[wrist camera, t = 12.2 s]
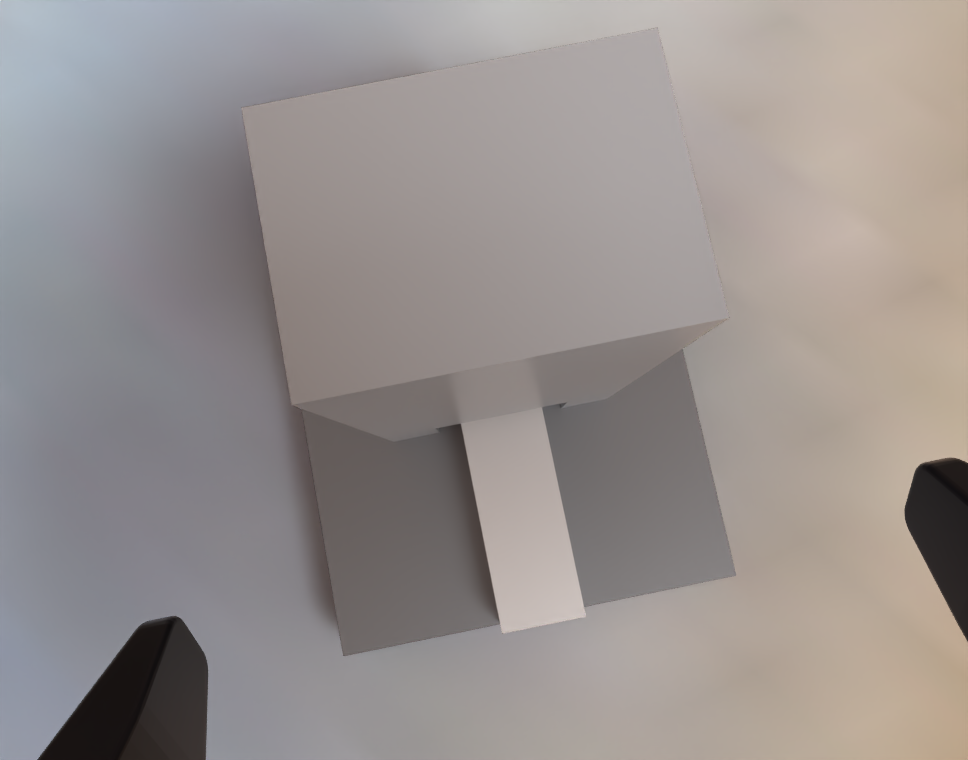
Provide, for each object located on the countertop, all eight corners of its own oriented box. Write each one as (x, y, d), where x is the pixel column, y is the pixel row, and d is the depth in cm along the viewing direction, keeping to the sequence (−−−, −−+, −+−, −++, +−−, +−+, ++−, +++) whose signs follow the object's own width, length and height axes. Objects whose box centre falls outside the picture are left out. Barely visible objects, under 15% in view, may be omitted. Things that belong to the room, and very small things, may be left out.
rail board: (718, 568, 20) (752, 582, 18) (354, 643, 20) (333, 668, 17) (605, 90, 22) (621, 36, 19) (270, 155, 22) (239, 109, 19)
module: (606, 398, 19) (729, 318, 9) (393, 441, 19) (291, 404, 9) (570, 235, 20) (649, -4, 10) (363, 276, 20) (236, 76, 10)
